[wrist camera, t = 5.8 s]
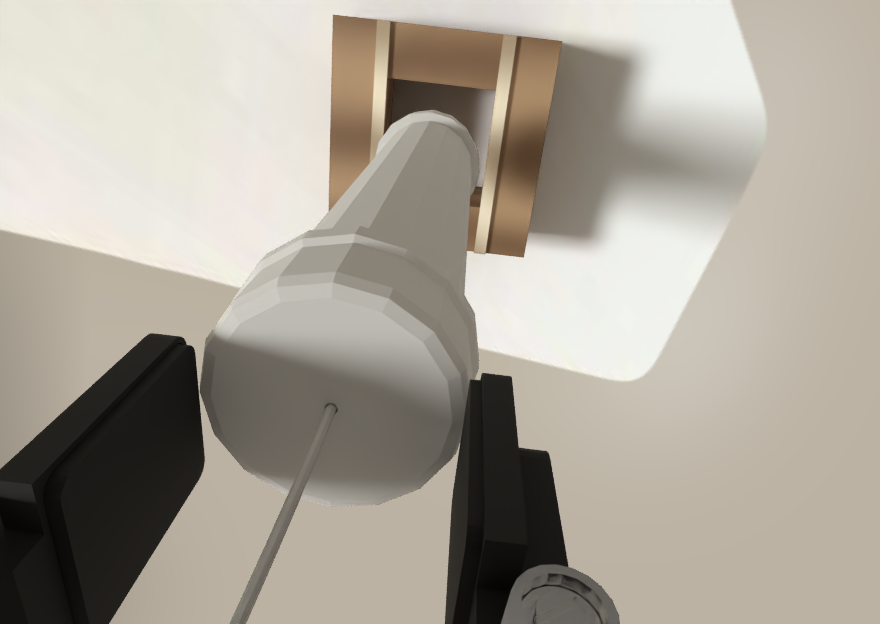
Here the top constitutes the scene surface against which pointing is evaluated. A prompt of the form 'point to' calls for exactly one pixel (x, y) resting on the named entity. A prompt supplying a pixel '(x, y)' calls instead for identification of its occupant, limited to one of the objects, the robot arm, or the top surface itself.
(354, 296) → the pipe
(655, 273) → the top surface
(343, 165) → the socket block
